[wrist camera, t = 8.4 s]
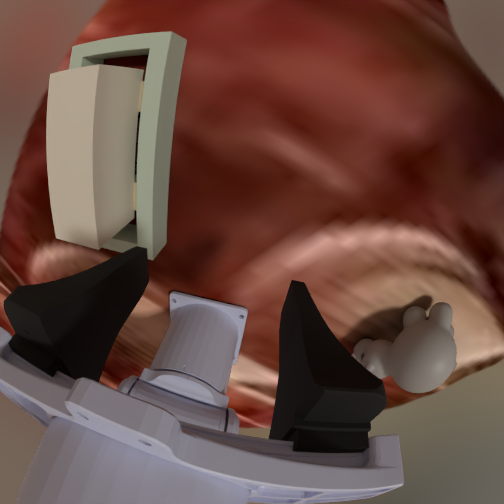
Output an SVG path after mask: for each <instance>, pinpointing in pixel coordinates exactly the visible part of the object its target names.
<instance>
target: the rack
mask: <svg viewBox="0 0 504 504" xmlns="http://www.w3.org/2000/svg"><path fill="white" fill-rule="evenodd" d="M186 43H187V40H186V39H184V38H182V37H181V36H179V35H177V34H175V33H173V32H157V33H145V34H136V35H128V36H121V37H115V38H109V39H104V40H98V41H94V42H89V43H85V44H80V45H76V46H73V48H72V53H71V59H70V66H69V70H70V69H75V68H80V67H86V66H92V65H99V64H101V65H103V63H104V59H109V58H117V57H126V56H138V55H149V56H148V62H147V68H146V74H145V81H142V85H141V93H140V101H139V111H138V112H141V114H140V125H139V138H138V155H137V175H134V210H136V211H137V225H133V224H127V225H126V226H125V227H124V228H122V229H121V230H120V231H119V232H118V233H117V234H116V235H115V236H113V237H112V238H111V239H110V240H109V241H108V242H107V243H106V244H105V245H104V246H103V247H102V248H106V249H109V250H113V251H117V252H121V253H123V252H125V251H127V250H129V249H131V248H133V247H136V246H139V247H143V248H147V255H148V259H149V260H154V259H155V257H156V256H157V255H158V253H159V252H160V251H161V250H162V248H163V247H164V246H165V244H166V243H167V206H168V186H169V171H170V158H171V147H172V137H173V128H174V119H175V111H176V103H177V96H178V89H179V83H180V76H181V70H182V65H183V59H184V54H185V48H186Z"/></svg>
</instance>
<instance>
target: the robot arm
mask: <svg viewBox="0 0 504 504" xmlns="http://www.w3.org/2000/svg"><path fill="white" fill-rule="evenodd" d="M148 282H149V274H148V255H147V248H143V247H139V246H136V247H133V248H131V249H129V250H127V251H125V252H123V253H121V254H119V255H117V256H115V257H113V258H111V259H109V260H107V261H105V262H103V263H101V264H99V265H97V266H95V267H92V268H90V269H88V270H86V271H83V272H81V273H78V274H75V275H72V276H69V277H66V278H62V279H59V280H56V281H51V282H47V283H41V284H35V285H26V286H18V287H17V288H16V289H15V290H14V291H13V292H12V293H11V294H10V295H9V296H8V297H7V298H6V299H5V300H4V310H5V312H6V315H7V317H8V319H9V321H10V323H11V325H12V327H13V329H14V331H15V333H16V334H15V335H14V336H13V337H12V336H11V334H10V333H8V332H7V331H6V330H4V329H3V328H2V327H0V391H1V392H2V393H3V394H5V395H6V396H7V397H8V398H9V399H10V400H12V401H13V402H14V403H15V404H16V405H18V406H19V407H21V409H23V410H24V411H25V412H27V413H28V414H29V415H30V416H32V417H33V418H34V419H36V420H37V421H38V422H40V423H41V424H42V425H44V426H45V427H47V428H48V429H47V431H46V433H45V435H44V437H43V439H42V441H41V443H40V445H39V447H38V449H37V451H36V453H35V456H34V458H33V460H32V462H31V464H30V467H29V469H28V471H27V474H26V476H25V479H24V481H23V484H22V486H21V489H20V491H19V494H18V496H17V499H16V502H15V504H248V502H256V503H275V504H276V503H277V504H304V503H324V502H336V501H347V500H356V499H364V498H371V497H374V496H377V495H379V494H382V493H385V492H388V491H390V490H393V489H395V488H397V487H400V486H402V485H403V484H404V479H403V468H402V459H401V451H400V444H399V437H398V435H396V434H395V435H381V436H373V437H370V438H368V432H369V431H370V429H371V424H370V422H371V420H373V419H374V418H375V417H376V416H377V415H378V414H379V413H381V412H382V410H383V409H384V408H385V407H386V404H387V399H386V393H385V388H384V385H383V381H382V380H381V379H379V378H378V377H377V376H375V375H374V374H373V373H371V372H370V371H369V370H367V369H366V368H365V367H364V366H363V365H362V364H360V363H359V362H358V361H357V360H356V359H355V358H354V357H353V356H352V355H351V354H350V353H349V352H348V351H347V350H346V349H345V348H344V347H343V345H342V344H341V343H340V342H339V341H338V339H337V338H336V337H335V336H334V334H333V333H332V332H331V330H330V329H329V327H328V326H327V324H326V323H325V321H324V319H323V318H322V316H321V314H320V312H319V311H318V309H317V307H316V305H315V303H314V301H313V299H312V297H311V295H310V293H309V291H308V289H307V287H306V285H305V283H304V282H299V281H294V280H292V281H291V284H290V287H289V290H288V293H287V296H286V300H285V303H284V306H283V309H282V312H281V320H280V329H279V378H278V386H277V393H276V400H275V407H274V413H273V419H272V425H271V430H270V435H269V439H263V438H257V437H251V436H244V435H238V432H239V418H238V416H237V415H236V413H235V410H234V409H231V408H227V405H228V400H229V397H228V396H225V395H226V391H227V386H228V382H229V377H230V373H231V368H232V365H235V364H236V362H237V358H238V353H239V349H240V345H241V340H242V336H243V331H244V327H245V323H246V318H247V314H248V310H247V309H246V308H244V307H240V306H235V305H231V304H226V303H222V302H217V301H213V300H209V299H204V298H200V297H196V296H192V295H188V294H184V293H180V292H176V291H172V292H171V293H170V323H171V324H170V326H169V328H168V330H167V332H166V334H165V336H164V338H163V340H162V342H161V345H160V347H159V349H158V351H157V353H156V355H155V358H154V360H153V362H152V364H151V366H150V368H149V369H147V368H144V370H143V372H142V374H141V376H140V377H137V376H135V375H132V376H130V377H129V378H126V379H124V380H123V381H122V382H121V383H120V385H119V386H118V388H117V389H116V390H115V389H113V388H110V387H108V386H106V385H103V384H101V383H99V380H100V377H101V374H102V371H103V368H104V365H105V362H106V360H107V357H108V355H109V352H110V350H111V348H112V345H113V343H114V341H115V339H116V337H117V335H118V333H119V331H120V329H121V327H122V326H123V324H124V323H125V321H126V320H127V318H128V317H129V315H130V314H131V312H132V311H133V309H134V307H135V306H136V304H137V303H138V301H139V300H140V298H141V297H142V295H143V293H144V291H145V288H146V286H147V284H148ZM174 299H175V300H174ZM240 315H243V316H240Z"/></svg>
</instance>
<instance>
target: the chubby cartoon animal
mask: <svg viewBox="0 0 504 504" xmlns="http://www.w3.org/2000/svg"><path fill="white" fill-rule="evenodd" d="M451 322H452V308H451V306H450V305H449V304H447V303H444V302H440V303H436V304H435V305H433V306H432V308H431V309H430V312H429V320H426V312H425V310H424V309H423V308H421V307H418V306H412V307H410V308H408V309H407V310H406V311H405V312H404V315H403V325H404V330H403V331H402V332H401V333H400V334H399V335H398V336H397V338H396V339H395V341H394V343H391V342H389V341H387V340H375V341H373V340H371V339H362V340H360V341H359V342H358V343H357V344H356V345H355V347H354V352H353V354H352V356H353V357H354V358H355V359H356V360H357V361H358V362H360V363H361V364H362V365H363V366H364V367H365V368H366V369H367V370H369V371H370V372H371V373H373V374H374V375H375V376H377V377H378V378H379V379H381V378H385V377H387V376H388V375H391V376H392V377H393V379H394V380H395V382H396V383H397V384H398V385H399V386H400V387H401V388H403V389H404V390H406V391H409V392H413V393H424V392H428V391H431V390H433V389H435V388H437V387H438V386H440V385H441V384H442V383H443V382H444V381H445V380H446V379H447V378H448V377H449V375H450V374H451V373H452V372H453V370H454V369H455V368H456V365H457V363H456V354H457V352H456V344H455V341H454V338H453V336H454V329H453V327H452V325H451Z"/></svg>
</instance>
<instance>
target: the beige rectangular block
mask: <svg viewBox="0 0 504 504" xmlns="http://www.w3.org/2000/svg"><path fill="white" fill-rule="evenodd" d="M143 72H144V70H142V69H135V68H128V67H120V66H111V65H101V64H99V65H92V66H86V67H80V68H75V69H70V70H65V71H60V72H56V73H52V74H50V81H49V91H48V104H47V131H46V141H47V169H48V182H49V193H50V201H51V209H52V216H53V223H54V229H55V234H56V238H58V239H61V240H65V241H68V242H72V243H75V244H79V245H82V246H86V247H90V248H93V249H97V250H99V249H101V248H102V247H103V246H104V245H105V244H106V243H107V242H108V241H109V240H110V239H111V238H112V237H113V236H115V235H116V234H117V233H118V232H119V231H120V230H121V229H122V228H124V227H125V226H126V225H127V224H128V223H129V222H130V221H132V220H133V219H134V174H135V149H136V133H137V121H138V111H139V101H140V93H141V85H142V78H143Z"/></svg>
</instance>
